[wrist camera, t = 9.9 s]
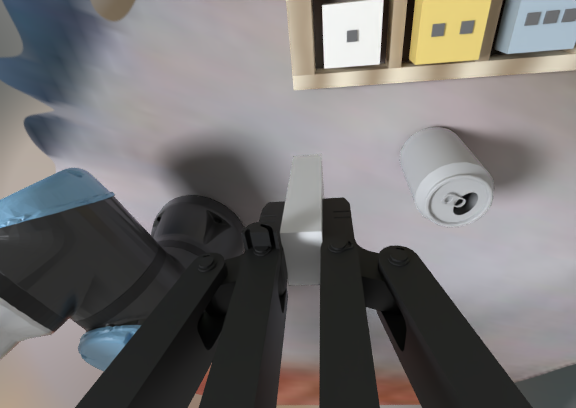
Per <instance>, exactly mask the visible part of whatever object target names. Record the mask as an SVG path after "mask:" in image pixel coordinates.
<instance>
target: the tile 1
mask: <svg viewBox="0 0 576 408" xmlns="http://www.w3.org/2000/svg"><path fill="white" fill-rule="evenodd" d="M383 1H384V0H356V1H347V2H338V3H330V4H323V5H322V16H323V47H324V69H328V68H340V67H352V66H365V65H377V64H380V51H381V34H382V17H383Z"/></svg>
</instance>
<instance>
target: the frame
mask: <svg viewBox="0 0 576 408" xmlns="http://www.w3.org/2000/svg"><path fill="white" fill-rule="evenodd" d="M502 2H503V0H491V5H490V9H489V14H488V18H487V23H486V28H485V32H484V37H483V41H482V46H481V50H480V55H479V59H478V60H469V61H457V62H444V63H431V64H419V65H415V64H414V63H413V62H412V61H406V62H401V61H402V51H403V40H404V30H405V19H406V9H407V0H389V13H388V28H387V42H386V57H385V63H381V64H377V65H365V66H352V67H340V68H328V69H324V68H320V69H316V63H315V42H314V20H313V0H286V5H287V17H288V28H289V40H290V52H291V63H292V75H293V87H294V90H305V89H319V88H333V87H347V86H361V85H375V84H389V83H403V82H417V81H431V80H445V79H459V78H473V77H487V76H501V75H515V74H529V73H542V72H556V71H570V70H576V43H575V45H574V48H573V49H562V50H550V51H538V52H525V53H513V54H506V53H504V54H492V55H490V52H491V48H492V44H493V40H494V35H495V31H496V27H497V23H498V19H499V14H500V10H501V6H502Z"/></svg>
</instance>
